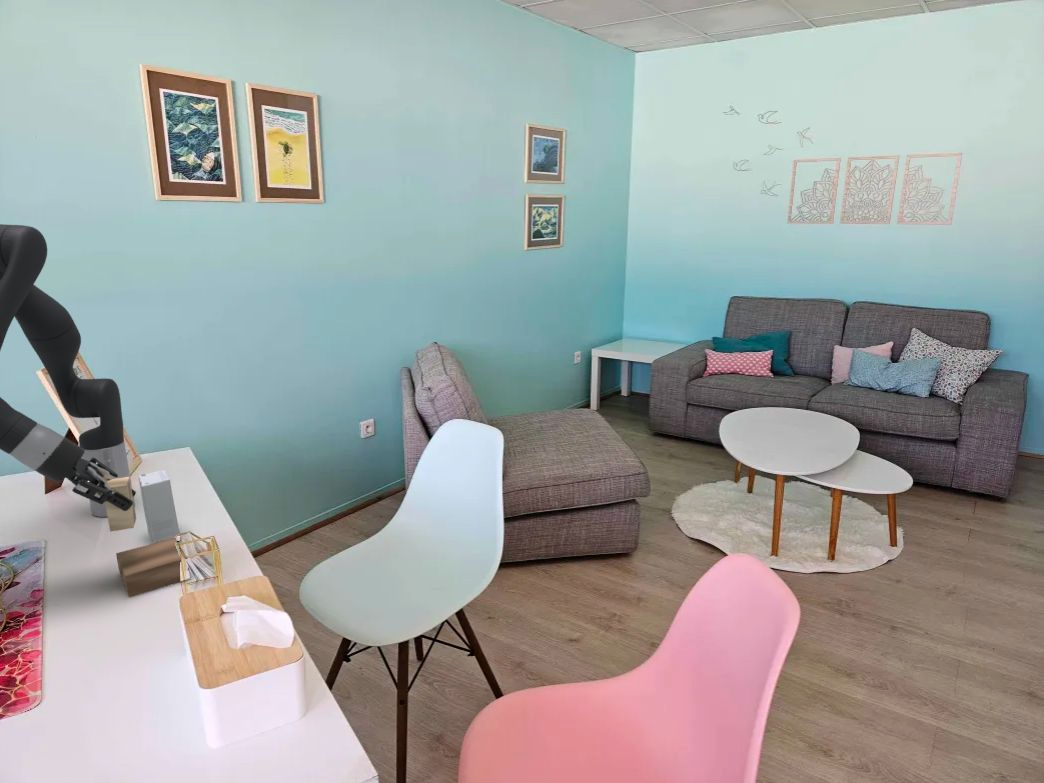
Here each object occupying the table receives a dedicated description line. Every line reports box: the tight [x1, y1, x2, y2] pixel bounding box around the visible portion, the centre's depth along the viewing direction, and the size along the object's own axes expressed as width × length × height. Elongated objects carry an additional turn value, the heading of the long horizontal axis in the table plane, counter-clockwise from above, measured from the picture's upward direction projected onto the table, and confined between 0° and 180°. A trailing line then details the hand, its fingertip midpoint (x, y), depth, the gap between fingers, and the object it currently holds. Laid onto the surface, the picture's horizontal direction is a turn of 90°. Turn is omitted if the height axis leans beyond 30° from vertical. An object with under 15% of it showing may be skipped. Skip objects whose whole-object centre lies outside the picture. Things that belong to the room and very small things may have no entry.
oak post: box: [103, 476, 137, 532], centre depth 135 cm, size 5×4×9 cm
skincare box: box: [138, 469, 181, 544], centre depth 154 cm, size 8×6×15 cm
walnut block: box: [115, 538, 189, 598], centre depth 139 cm, size 11×11×5 cm
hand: (131, 501), depth 135 cm, fingers closed on oak post, 4 cm apart
